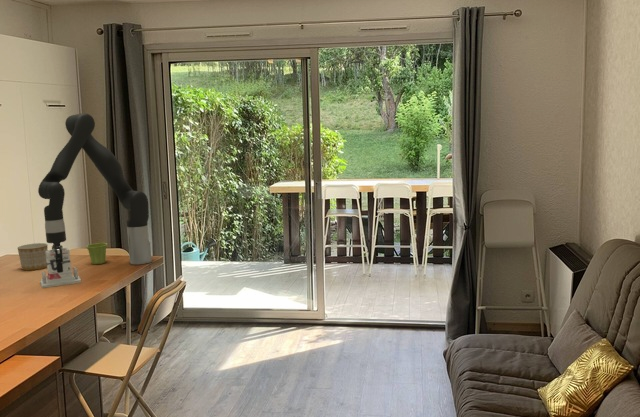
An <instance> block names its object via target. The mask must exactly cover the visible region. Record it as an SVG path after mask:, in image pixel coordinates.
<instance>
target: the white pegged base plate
mask: <svg viewBox="0 0 640 417" xmlns="http://www.w3.org/2000/svg"><path fill="white" fill-rule="evenodd" d="M72 270H73V271H71V273H72V277H66V278H59V279H52V280H50V279H48V275H46V272H45V271H41V279H40V280H39V281H40V286H41V289H46V288H52V287H57V286H60V287H61V286H66V285H67V286H68V285H72V284H80V283H82V279H81V277H80V276H79V274H78V269H77V267H76V266H74V267H72Z"/></svg>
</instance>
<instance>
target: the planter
mask: <svg viewBox="0 0 640 417" xmlns="http://www.w3.org/2000/svg"><path fill="white" fill-rule="evenodd" d="M47 250H48V243H43V242H42V243H40V242H38V243H37V242H36V243H29V244H24V245H23V244H22V245H19V246H17V252H18V256H19V258H18V259H19V261H20V267H21V269H22V270H24V271H29V270H30V271H38V270H42V269H46V268H47V261H46V252H45V251H47Z"/></svg>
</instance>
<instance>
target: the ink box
mask: <svg viewBox="0 0 640 417" xmlns="http://www.w3.org/2000/svg"><path fill="white" fill-rule="evenodd" d="M45 252H46V261H47V267H46V269H47V276H48V279H50V280H52V279H59V278H66V277H72V276H73V272H72V265H71V257H70V256H71V255H70V249H68V248H67V247H63V250H62V252H63V257H62V258H63V263H62V265H63V272H60V273H58V272H57V265H56V259H55V258H54V254H55V252H53V251H52V249H49V250H47V251H45ZM55 255H56V254H55ZM57 260H61V258H57ZM71 272H72V273H71Z"/></svg>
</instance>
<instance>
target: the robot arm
mask: <svg viewBox="0 0 640 417" xmlns="http://www.w3.org/2000/svg"><path fill="white" fill-rule="evenodd" d="M95 124H96V122H95V119H94V118H93V116H92V115H91V114H89V113H86V112H85V113H82V112H81V113H75V114H72V115H69V116H67V118H66V120H65V128H66V131H67V132H68V133H69V135H70V138H69V140H68V141H67V143H66V144H65V145H64V147H63V148H62V149H61V150H60V151H59V152H58V154H57V156H56V158H55V159H54V161H53V164H52V165H51V167H50V170H49V171H48V173H47V174H46V175H45V177H43V179H42V180H41V182H40V183H39V185H38V189H37V192H38V196H39V197H40V198H42V199H44V200H48V205H46V206H45V207H44V208H43V214H44V230H45V231H44V232H45V240H46V244H52V246H51V250H52V251H53V252H55V254H56V255H55V254H54V258H55V259H56V265H57V272H58V273H60V272H63V265H62V263H63V258H62V257H63V252H62V250H63V248H64V247H63V244H61V243H65V242H66V241H67V235H66V234H67V233H66V225H65V220H64V212H63V208H64V201H65V195H66V194H65V193H66V192H65V188H64V186H63V185H62V183H61V181H65V180H66V179H67V178H68V176H69V174H70V173H71V172H70V171H71V170H72V167H73V165H74V163H75V161H76V159H77V157H78V156H79V153H80V152H81V150H83V151H84V152H85V154H86V155H87V156H88V158H89V159H90V160H91V162H92V163H93V164H94V166H95V168H96V169H97V171H99V173H100V175H101V176H102V177H103V178H104V180H105V181H106V183H108V185H109V186H110V187H111V189H112V190H113V192H114V193H115V196H116V197H117V199H118V200H119V202H120V203H121V205H122V207H123V209H125V210H127V211H129V212H130V216H129V219H127V220H126V230H127V231H126V233H127V242H128V244H127V245H128V254H129V263H130V265H144V264H148V263H152V259H153V258H152V250H151V249H152V248H151V241H150V238H149V225H148V224H149V222H148V221H149V218H150V217H149V216H150V213H149V212H150V211H149V200H148V196H147V195H146V193H145V192H143V191H139V190H134V189H133V188H132V187H131V186H130V185H129V183H128V182H127V181H126V178H125V175H124V172H123V167H122V166H121V163H120V162H119V160H118V159H117V157H116V156H115V155H114V153H113V152H112V151H111V150H110V149H108V148H107V147H106V146H105V145H103V144H102V143H101V142H99V141H98V140H97V139H96V138H95V137H94V136H93V135H92V134H93V131H95V130H94V129H95V126H96V125H95ZM57 258H61V260H57Z"/></svg>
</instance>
